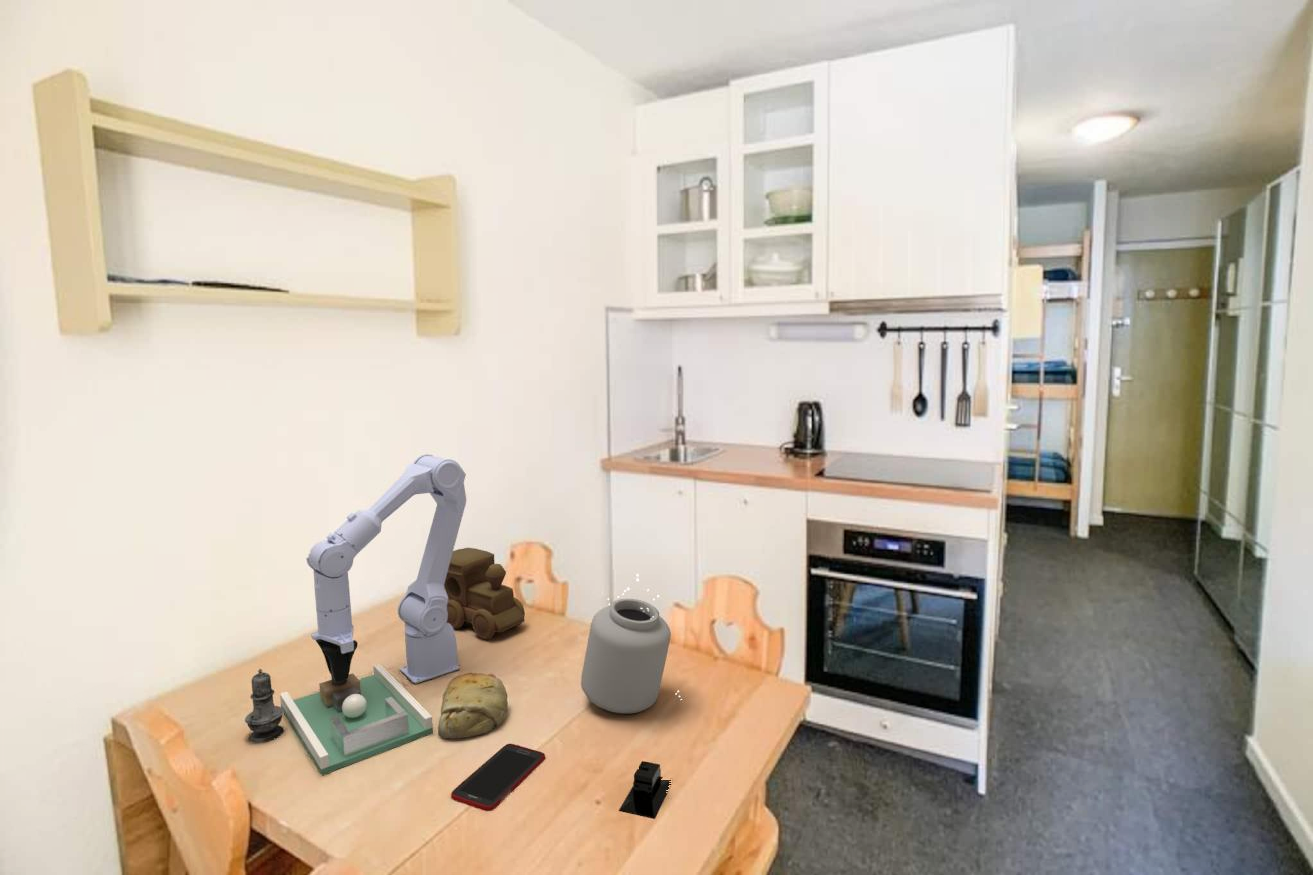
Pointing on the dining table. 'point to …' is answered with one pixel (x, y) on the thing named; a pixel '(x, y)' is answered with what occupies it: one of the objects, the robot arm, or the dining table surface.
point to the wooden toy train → (480, 594)
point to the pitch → (353, 720)
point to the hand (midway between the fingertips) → (339, 676)
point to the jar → (625, 656)
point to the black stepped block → (646, 791)
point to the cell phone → (497, 777)
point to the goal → (370, 730)
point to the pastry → (472, 705)
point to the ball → (354, 705)
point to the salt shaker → (263, 711)
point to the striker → (338, 690)
